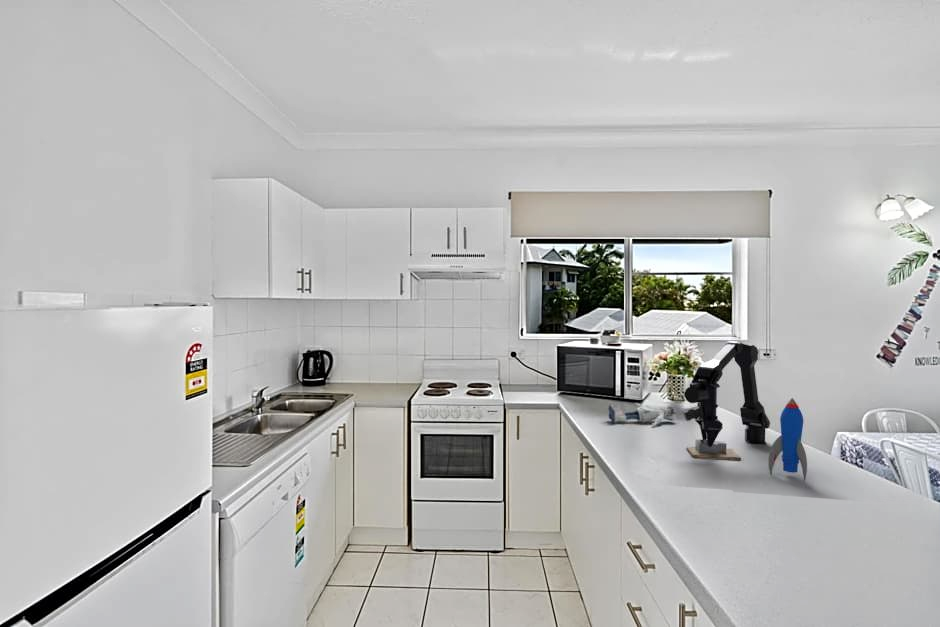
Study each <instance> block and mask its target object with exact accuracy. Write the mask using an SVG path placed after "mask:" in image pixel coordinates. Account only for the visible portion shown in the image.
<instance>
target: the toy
mask: <svg viewBox="0 0 940 627" xmlns="http://www.w3.org/2000/svg"><path fill="white" fill-rule="evenodd" d="M635 406H637V408H636V410H635V411H628V412H624V411H623V410H618V411H617V409H616V408H614V407H615V406H614V405H611V404H609V405H608V412H609V413H608V419H609V420H611V423H612V424H615V423H618V422H624V423H629V422H628V420H637V421H638V422H640V423H649V422H651V421H654V422H651V428H654V427H655V426H656V425H658V424H661V423H662V421H663V420H667V421H674V420H676V417H677V414H678V412H677V410H676V408H674V407H672V406H669V407H667V408H666V407H664V406H663V407H661V408H657V407H654V406H652V405H648V404H645V405H644V404H641V403H638V402H636V403H635Z"/></svg>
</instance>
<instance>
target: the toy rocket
mask: <svg viewBox="0 0 940 627" xmlns="http://www.w3.org/2000/svg"><path fill="white" fill-rule="evenodd" d="M779 419H780V420H779V422H780V434H781V435H779V436H778V437H777V438H776V439H775V441H774V442H773V443H772V446H771V447H770V449H769V453H768V461H767V462H768V463H767V464H768V469H769V470H768V471H769V475H772V474H773V473H772V472H773V469H774V465H775V463H776V461H777V458H778V456H779V455H780V454H781V453H782V454H781V461H782V466H783V467H782V468H783V469H782V470H783V471H784V472H786V473H793V474H794V473H798V467H799V464H800V466H801V469H802V470H801V471H802V476H803V481H804V482H806V478H807V475H808V474H807V472H808V460H807V459H808V458H807V454H806V450H805V447H804V445H803V443H802V434H803V427H804V416H803V412H802V411H801V409H800V406H799V405H798V404H797V402H796V401H795V399H794V398H793V397H792V398H791V399H790V400H789V401H788V402H787V403H786V405H785V406H784V408H783V410H782V411H781V415H780V418H779Z"/></svg>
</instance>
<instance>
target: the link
mask: <svg viewBox="0 0 940 627" xmlns="http://www.w3.org/2000/svg"><path fill="white" fill-rule="evenodd" d="M694 445H695V446H694V447H695V449H696V450H697V451H698V453H705V454H719V453H726V449H727V442H726V441H717V440H715V441H714V443H713V445H712V447H709V446H708V443H704V440H703V439H702V438H699V439H698V438H695V444H694Z"/></svg>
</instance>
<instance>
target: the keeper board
mask: <svg viewBox="0 0 940 627" xmlns="http://www.w3.org/2000/svg"><path fill="white" fill-rule="evenodd" d="M704 443H708V442H707V439H706V440H704ZM685 450H687V452H688V451H689V452H688V453H689V455H690V454H691V455H690V457H692V458H693V457H697V458H696V459H708V458H716V459H715V460H726V459H734V460H733V461H741V460H742V457H741V456H740V455H739V454H738V453H737V452H736V451H735V450H734V449H733V448H726V453H719V454H705V453H698V451H697V450H696V449H695V446H687V445H686V449H685ZM718 458H719V459H718Z"/></svg>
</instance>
